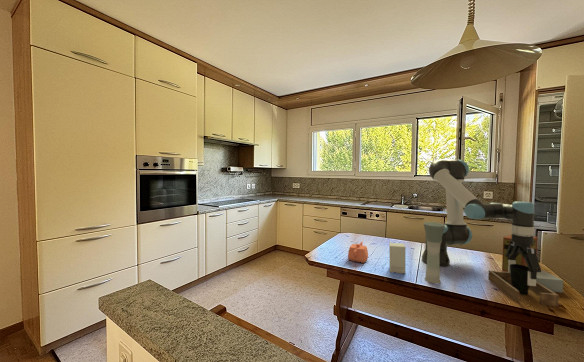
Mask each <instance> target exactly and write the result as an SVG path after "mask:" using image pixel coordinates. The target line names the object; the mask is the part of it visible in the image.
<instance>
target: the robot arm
mask: <svg viewBox="0 0 584 362" xmlns="http://www.w3.org/2000/svg"><path fill="white" fill-rule="evenodd" d="M469 169H470V167H469V165H468V163H466V161H464V160H462V159H457V158H455V159H454V158H453V159H451V158H450V159H436V160H433V162H431V164H430V165H429V168H428V173H429V176H430V178H432V180H433V181H434V182H436V183H438V184H440V185H441V186H442V187H443V188H444V189H445V201H446V221H445V222H444V225H445V228H444V232H443V235H442V242H441V245H440V253H439V267H440V266H441V267H442V268H443V267H444V268H445V267H449V266H450V264H451V260H450V258H449V254H448V246H463V245H467V244H469V243H470V242H471V241H472V238H473V232H472V230H471V228H470V227H468V223H467V222H465V221H464V213H465V217H467V218H468V219H470V220H487V219H489V220H491V219H492V220H493V219H494V220H495V219H504V220H509V221H511V235H512V238H511V240H512V241H510V244H509V247H508V249H507V252H506V254H505V256H506V257H507V258H508V273H510V264H516V261H515V260H516V257H517V256H518V255H519V254H521V255H522V257H524V259H525V261H526V263H527V266H528V268H529V270H528V284H527V285H529V286H536V279H537V272H541V270H542V268H541V265H540V262H539V259H538V256H537V255H536V249H531V248H530V245H532V244H533V243H534V237H535V236H534V233H535V232H534V231H535V224H534V223H535V213H536V212H535V204H534V203H533V202H530V201H522V200H521V201H519V200H518V201H516V200H515V201H513V202H512V204H510V203H509V204H508V203H502V202H490V203H483V202H482V201H481V200H480V199H479V198H477V197H476V196H475V195H474V194H473V193H472V192H471V191H470V190H468V189H467V188H466V187H465V186H464V184H463V182H465V177H467V175H468V174H469V173H470V172H469V171H470V170H469ZM424 244H425V248H424V251H423V253H422V255H421V261H422V262H423V263H425V264H427V253H428V251H427V241H426V239H425V243H424ZM508 254H510V255H508ZM527 254H528V255H527Z"/></svg>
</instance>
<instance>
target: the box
mask: <svg viewBox="0 0 584 362" xmlns="http://www.w3.org/2000/svg"><path fill="white" fill-rule="evenodd" d="M533 237H534V243H533V244H532V245H530V248H531V249H536V255H537V254H538V253H537V252H538V251H537V250H538V239H539V237H538V236H533ZM502 238H503V241H502V242H503V243H502V261H501V262H502V263H501V271H503V272H508V258H507V257H506V256H505V254H506V252H507V249H508V247H509V244H510V241H512V240H511V238H512V234H511V235H506V236H503V237H502ZM508 255H510V254H508ZM527 255H528V254H527ZM515 261H516V264H519V265H524V266H527V263H526V261H525V259H524V257H522V255H521V254H519V255H518V256H517V257H516V260H515ZM527 267H528V266H527Z"/></svg>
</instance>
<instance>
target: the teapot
mask: <svg viewBox="0 0 584 362" xmlns="http://www.w3.org/2000/svg"><path fill="white" fill-rule="evenodd" d="M347 258H348V260H349V261H352V262H355V261H356V263H360V262H361V263H362V264H363V263H366V262H367V260H368V258H369V252H368V247H367V246H366V245H363V241H360V243H353V244H351V245H350V246H349V248H348V251H347Z"/></svg>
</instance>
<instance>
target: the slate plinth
mask: <svg viewBox="0 0 584 362" xmlns="http://www.w3.org/2000/svg"><path fill="white" fill-rule="evenodd" d="M536 282H538V283H540V284H541V285H543V286H545V287H546V288H548V289H550V290H551V291H553V292H554V293H560V294H561V293H562V294H563V293H564V291H563V290H564V280H563V279H562V278H560V277H558V276H556V275H554V274H552V273H550V272H548V271H547V270H543V269H541V272H537V279H536Z"/></svg>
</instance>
